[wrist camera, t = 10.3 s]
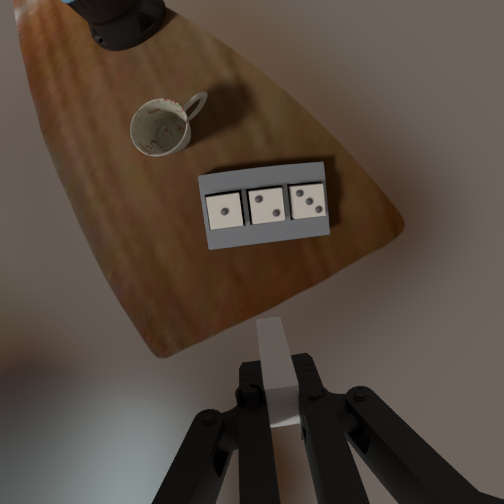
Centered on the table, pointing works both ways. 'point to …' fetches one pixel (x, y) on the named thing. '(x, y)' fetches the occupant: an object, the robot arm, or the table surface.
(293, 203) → the white block with dots
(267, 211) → the white die
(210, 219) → the white block
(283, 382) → the robot arm
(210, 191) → the board
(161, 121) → the mug
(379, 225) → the table surface
